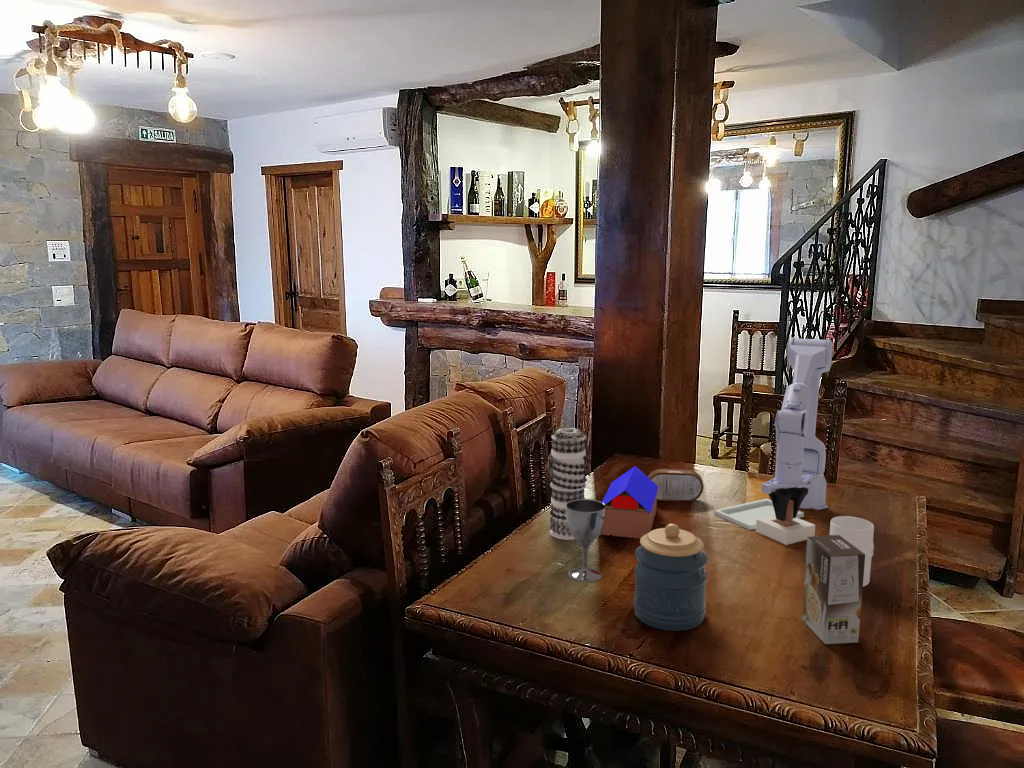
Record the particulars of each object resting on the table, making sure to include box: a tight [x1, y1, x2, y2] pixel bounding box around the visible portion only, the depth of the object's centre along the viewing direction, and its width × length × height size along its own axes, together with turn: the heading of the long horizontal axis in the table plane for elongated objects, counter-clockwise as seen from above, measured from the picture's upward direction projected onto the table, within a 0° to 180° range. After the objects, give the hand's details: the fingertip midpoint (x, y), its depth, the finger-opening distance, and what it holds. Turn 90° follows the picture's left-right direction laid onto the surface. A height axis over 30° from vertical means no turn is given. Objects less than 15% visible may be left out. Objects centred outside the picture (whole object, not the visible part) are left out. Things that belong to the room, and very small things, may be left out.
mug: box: [829, 515, 875, 588], centre depth 155 cm, size 8×12×12 cm
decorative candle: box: [548, 427, 589, 541], centre depth 177 cm, size 9×9×25 cm
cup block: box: [755, 515, 816, 546], centre depth 175 cm, size 9×9×4 cm
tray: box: [713, 498, 805, 531], centre depth 188 cm, size 18×12×2 cm, turn 118°
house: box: [599, 465, 658, 539], centre depth 185 cm, size 12×20×12 cm, turn 164°
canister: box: [633, 523, 709, 632], centre depth 138 cm, size 13×13×18 cm
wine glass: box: [566, 498, 605, 583], centre depth 156 cm, size 8×8×15 cm
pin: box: [779, 500, 794, 527], centre depth 175 cm, size 3×3×8 cm
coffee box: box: [802, 534, 865, 645], centre depth 132 cm, size 9×6×16 cm
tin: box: [646, 468, 704, 503], centre depth 201 cm, size 15×3×8 cm, turn 84°
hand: (785, 518), depth 175 cm, fingers closed on pin, 3 cm apart
